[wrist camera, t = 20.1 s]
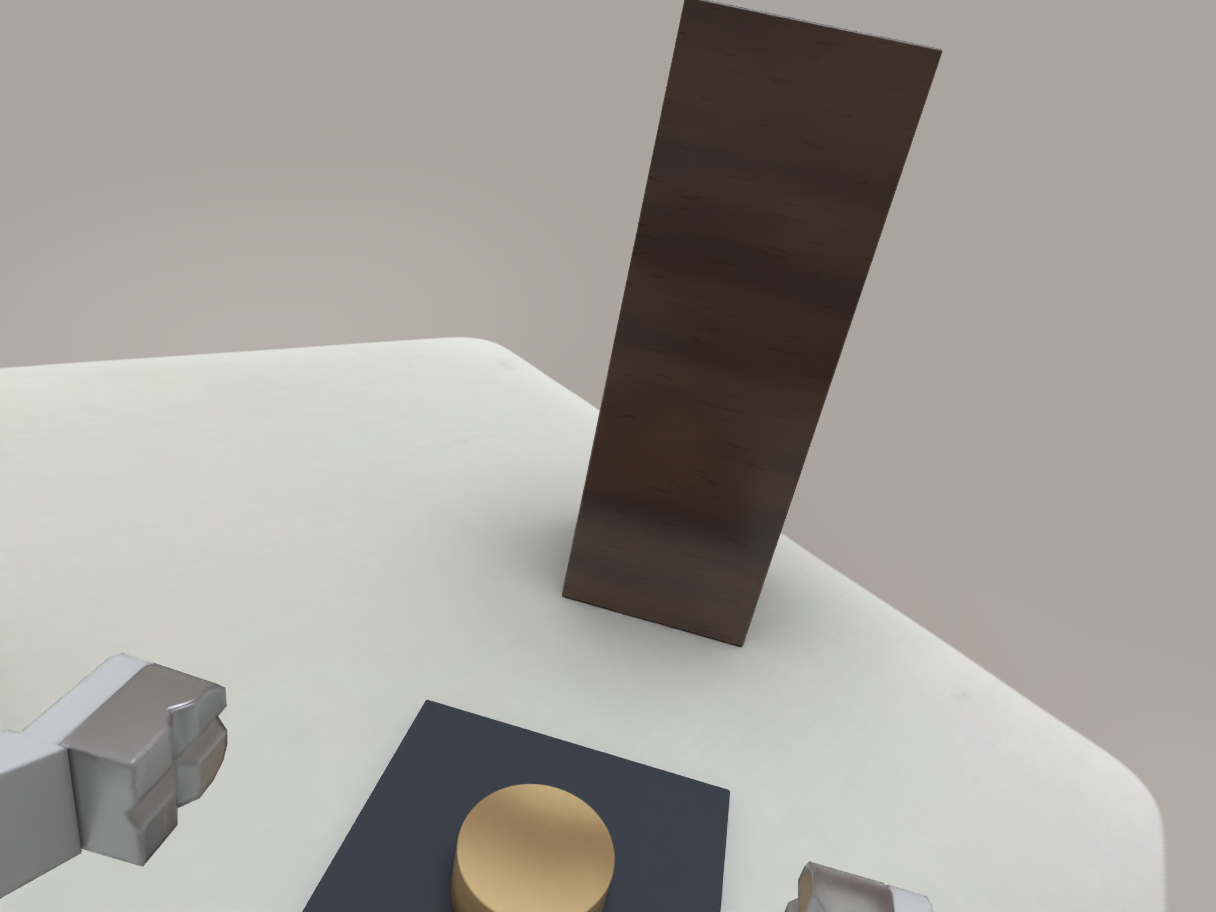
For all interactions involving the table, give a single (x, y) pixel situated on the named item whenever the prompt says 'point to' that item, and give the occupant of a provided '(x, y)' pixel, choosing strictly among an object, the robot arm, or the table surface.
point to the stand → (738, 305)
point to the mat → (507, 756)
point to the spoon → (532, 854)
